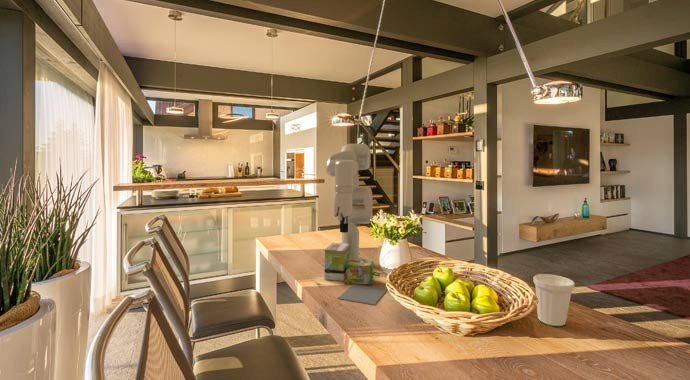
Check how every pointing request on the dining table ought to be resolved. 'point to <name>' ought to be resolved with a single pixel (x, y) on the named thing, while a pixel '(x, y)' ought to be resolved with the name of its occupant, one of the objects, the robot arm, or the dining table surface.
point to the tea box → (336, 261)
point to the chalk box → (360, 272)
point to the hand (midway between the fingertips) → (344, 232)
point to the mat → (363, 294)
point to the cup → (553, 298)
